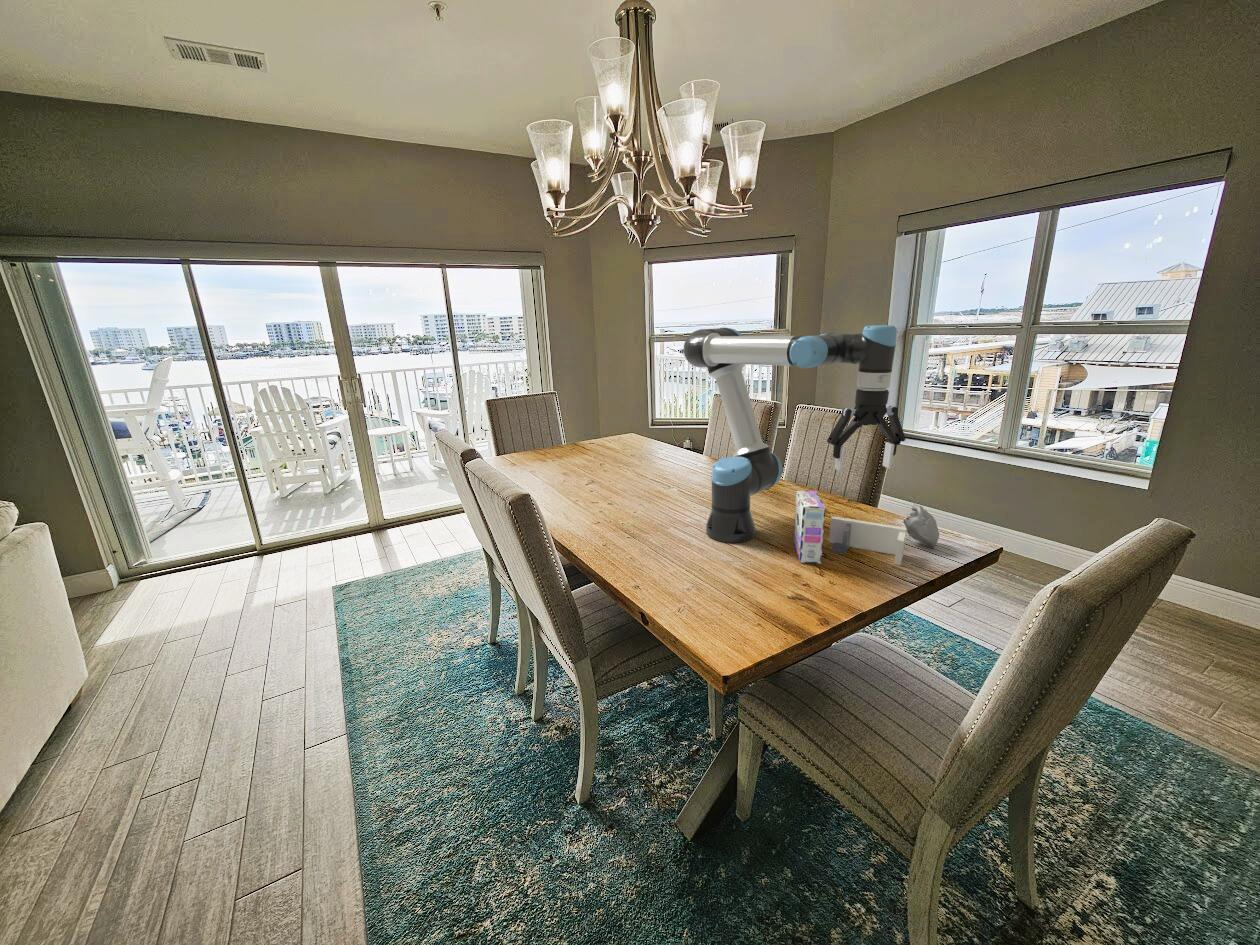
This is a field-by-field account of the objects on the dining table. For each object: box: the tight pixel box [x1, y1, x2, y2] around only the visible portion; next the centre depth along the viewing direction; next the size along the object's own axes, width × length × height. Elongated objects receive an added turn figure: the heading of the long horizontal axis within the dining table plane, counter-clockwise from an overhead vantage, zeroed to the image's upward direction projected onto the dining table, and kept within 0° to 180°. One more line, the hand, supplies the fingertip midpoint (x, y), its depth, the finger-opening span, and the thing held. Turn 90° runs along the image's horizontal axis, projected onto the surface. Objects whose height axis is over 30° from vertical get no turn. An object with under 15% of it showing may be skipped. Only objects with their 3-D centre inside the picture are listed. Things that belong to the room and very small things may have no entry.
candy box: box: [793, 490, 827, 565], centre depth 133 cm, size 14×6×16 cm, turn 168°
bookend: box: [829, 523, 851, 555], centre depth 135 cm, size 4×6×7 cm, turn 147°
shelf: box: [828, 516, 907, 566], centre depth 133 cm, size 19×8×8 cm, turn 57°
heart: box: [902, 504, 940, 548], centre depth 134 cm, size 10×10×12 cm
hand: (862, 468), depth 128 cm, fingers open, 13 cm apart
